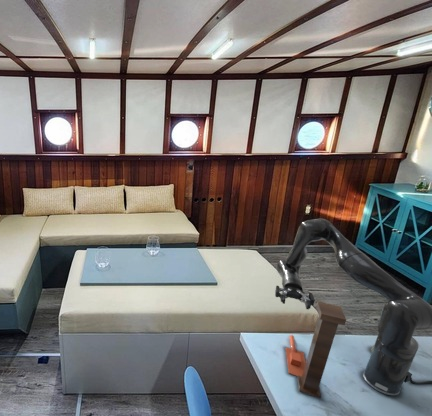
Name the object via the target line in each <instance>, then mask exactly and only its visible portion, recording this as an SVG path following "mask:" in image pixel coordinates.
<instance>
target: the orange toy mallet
mask: <svg viewBox="0 0 432 416" xmlns="http://www.w3.org/2000/svg"><path fill="white" fill-rule="evenodd" d="M288 338H289V345H290V349H291V352H290V363H291V364H292V365H296V366H299V367H300V365H301V357H300V354H298V353H296V350H297V348H296V341H295V336H294V335H293V334H290V335H289V336H288Z"/></svg>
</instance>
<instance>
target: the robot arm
mask: <svg viewBox="0 0 432 416" xmlns="http://www.w3.org/2000/svg"><path fill="white" fill-rule="evenodd" d="M318 241H325V242H326V243H328V244H329V245H330V246H331V247H332V248H333V250H334V256H335V261H336V264H337V265H338V267H339V268H340V269H341V270H342V271H343V272H344V273H345V274H346V275H347V276H348V277H349V278H350V279H352V280H353V281H354V282H356V283H358V284H360V285H362V286H364V287H365V288H368V289H370V290H372V291H374V292H376V293H378V294H380V295H381V296H383V297H384V298H385V299H386V300H388V301H387V302H386V303H385V304H383V307H382V309H381V313H380V317H379V319H378V323H377V331H378V334H377V337H376V340H375V342H374V344H375V345H374V344H373V346H374V347H373V346H372V347H373V350H372V352H371V353H370V356H369V358H368V361H367V364H366V366H365V369H364V371H363V373H362V378H363V380H364V382H365V383H366V384H367V385H368V386H369V387H371V388H372V389H374V390H376V391H377V392H379V393H381V394H383V395H387V396H391V397H395V396H396V397H397V396H398V395H399V394H400V392H401V389H402V387H403V385H404V383H405V384H406V383H408V382H410V384H413V385H429V384H432V380H425V381H414V380H413V373H412V372H409V371H410V368H411V366H412V363H413V361H414V359H415V356H416V354H417V352H418V351H419V346H420V345H419V342H418V341H417V339H416V338H415V337H413V335H414V333H415V331H423V330H425V331H426V330H430V329H432V305H431V304H430V303H428V302H427V301H426V300H425V299H424V298H422V297H420V296H419V295H417V294H416V293H415V292H413V291H412V290H410V289H409V288H407V287H406V286H404V285H403V284H402V283H400V282H399V281H398V280H396V279H395V278H394V277H393V276H392V275H390V274H389V273H388V272H387V271H385V270H384V269H383V268H381V267H380V266H379V265H378V264H377V263H376V262H375V261H374V260H372V259H371V258H370V257H369V256H368V255H367V254H366V253H364V252H363V251H361V250H360V249H359V248H358V247H356V245H354V244H353V243H352V242H351V241H350V240H349V239H347V238H346V237H345V236H344V235H343V234H342V233H341V231H340V230H338V229H337V228H336V227H335V226H334V224H333V223H331V222H330V221H329V220H327V219H325V218H314V219H307V220H304V221H302V222H301V223H300V224H299V226H298V228H297V232H296V235H295V237H294V241H293V244H292V246H291V249H290V250H289V252H288V253H287V255H286V257H285V259H280V260H279V261H278V262H276V267H275V268H276V271H277V273H278V274H279V276H280V277H281V285H282V287H280V286H279V285H276V286H275V289H274V290H275V291H274V293H275V294H274V296H275V298H279V299H280V303H282V304H285V303H286V299H288V298H289V299H295V300H298V301H299V302H301V303H303V304H304V305H305V309H306V310H308V311H309V310H310V309H311V307H312V306H314V305H315V301H316V299H315V297H314V294H313V293H312V292H308V293H305V291H304V289H303V286H302V282H301V279H300V277H299V276H300V274H301V271H302V270H301V269H302V265H303V263H304V262H305V260H306V259H307V257H308V249H307V246H308V245H309V244H310V243H312V242H318Z"/></svg>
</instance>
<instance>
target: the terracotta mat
mask: <svg viewBox="0 0 432 416" xmlns="http://www.w3.org/2000/svg"><path fill="white" fill-rule="evenodd" d="M290 352H291V347H285V354H286V360H287V361H286V362H287V363H286V364H287V369H288V370H287V371H288V375H292V376H295V377H297V376H298V375H299V376H302V375H303V371H304V367H305V364H306V358H305V357H306V356H305V352H303V351H300V350H297V349H296V353H298V354H300V357H301V365H300V367H299V366H296V365H292V364H291V363H290Z"/></svg>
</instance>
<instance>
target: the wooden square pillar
mask: <svg viewBox="0 0 432 416" xmlns="http://www.w3.org/2000/svg"><path fill="white" fill-rule="evenodd" d="M315 308H316V311H317V314H318V315H317V316H318V317H317V321H316V325H315V329H314V332H313V336H312V339H311V343H310V346H309V350H308V352H307V357H306V359H305V362H306V364H305V367H304V371H303V375H302V376H299V375H298V376H296V379H297V385H298V392H299V393H303V394H305V395H309V396H312V397H315V398H317V399H322V394H321V389H320V384H321V381H322V378H323V375H324V372H325V369H326V365H327V363H328V360H329V356H330V354H331V349H332V346H333V344H334V339H335V337H336V333H337V329H338V326H339V325H342V326H345V325H346V322H347V318H346V315H345V313H344V311H343V309H342V307H341V306H339V305H335V304H330V303H326V302H321V301H317V302H316V305H315Z"/></svg>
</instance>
